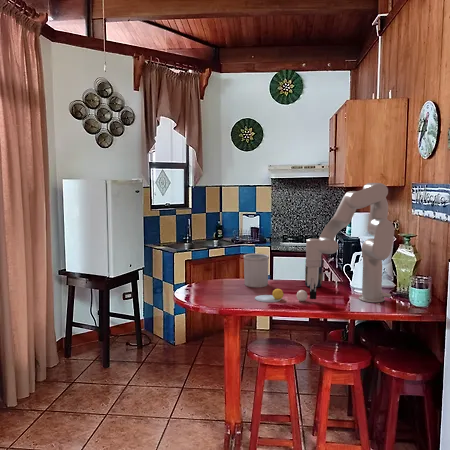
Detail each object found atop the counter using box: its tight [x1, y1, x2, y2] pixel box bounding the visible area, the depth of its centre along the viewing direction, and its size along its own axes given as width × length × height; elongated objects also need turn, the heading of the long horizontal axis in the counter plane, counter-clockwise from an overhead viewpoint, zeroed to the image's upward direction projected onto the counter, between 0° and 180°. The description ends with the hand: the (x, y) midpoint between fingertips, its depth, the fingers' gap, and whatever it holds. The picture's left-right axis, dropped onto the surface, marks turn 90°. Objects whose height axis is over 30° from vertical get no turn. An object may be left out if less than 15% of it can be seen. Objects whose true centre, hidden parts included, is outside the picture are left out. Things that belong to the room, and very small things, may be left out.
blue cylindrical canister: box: [304, 257, 323, 288], centre depth 261 cm, size 10×10×18 cm
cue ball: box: [296, 289, 308, 302], centre depth 231 cm, size 6×6×6 cm
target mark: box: [254, 294, 283, 303], centre depth 235 cm, size 14×14×1 cm
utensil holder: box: [243, 253, 270, 288], centre depth 265 cm, size 15×15×18 cm
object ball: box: [272, 288, 284, 299], centre depth 234 cm, size 6×6×6 cm
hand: (313, 298), depth 229 cm, fingers closed
